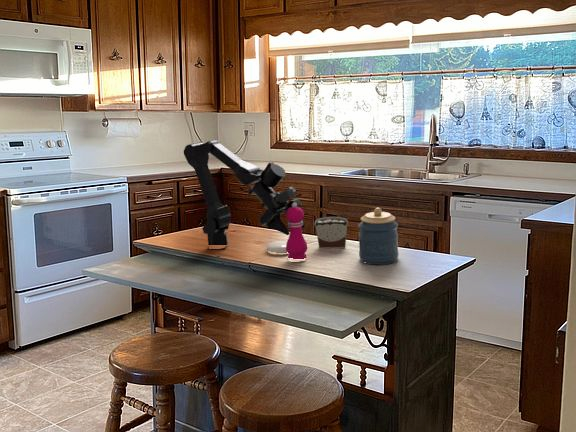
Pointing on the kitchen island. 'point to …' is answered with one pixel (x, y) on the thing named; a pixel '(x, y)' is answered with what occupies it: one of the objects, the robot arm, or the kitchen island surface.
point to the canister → (378, 238)
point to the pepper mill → (295, 233)
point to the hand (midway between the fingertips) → (296, 230)
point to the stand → (277, 247)
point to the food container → (331, 232)
